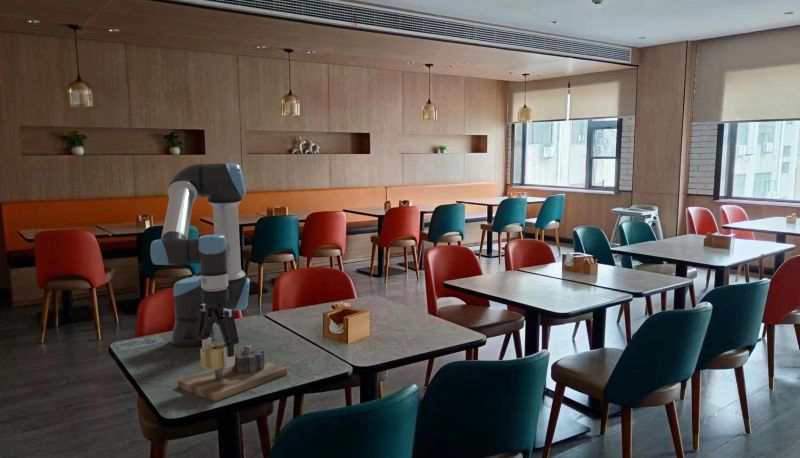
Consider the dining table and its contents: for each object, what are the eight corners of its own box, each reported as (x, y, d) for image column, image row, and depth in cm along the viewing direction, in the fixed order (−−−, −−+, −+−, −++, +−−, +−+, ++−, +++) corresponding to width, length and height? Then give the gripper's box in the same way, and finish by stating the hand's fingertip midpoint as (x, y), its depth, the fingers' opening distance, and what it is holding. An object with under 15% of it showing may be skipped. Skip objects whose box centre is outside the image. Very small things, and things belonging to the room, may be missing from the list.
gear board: (177, 386, 176) (176, 357, 175) (249, 362, 196) (248, 335, 195) (215, 401, 165) (213, 370, 164) (286, 373, 186) (285, 345, 184)
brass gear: (222, 356, 183) (221, 340, 182) (242, 362, 177) (241, 346, 176) (194, 365, 175) (193, 348, 175) (214, 372, 169) (213, 355, 169)
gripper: (181, 286, 177) (185, 359, 180) (227, 295, 164) (231, 375, 166) (203, 281, 183) (206, 352, 186) (250, 290, 169) (253, 367, 172)
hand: (218, 363), depth 176 cm, fingers closed on brass gear, 10 cm apart
